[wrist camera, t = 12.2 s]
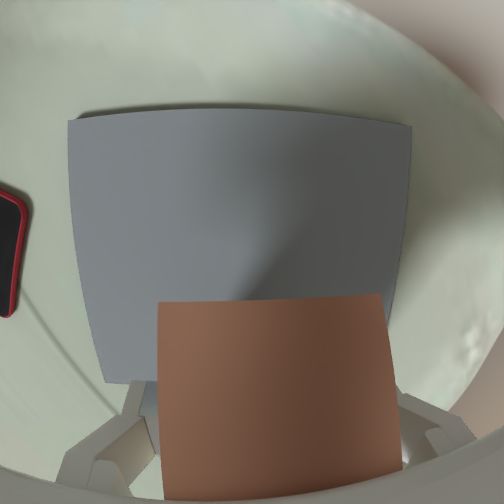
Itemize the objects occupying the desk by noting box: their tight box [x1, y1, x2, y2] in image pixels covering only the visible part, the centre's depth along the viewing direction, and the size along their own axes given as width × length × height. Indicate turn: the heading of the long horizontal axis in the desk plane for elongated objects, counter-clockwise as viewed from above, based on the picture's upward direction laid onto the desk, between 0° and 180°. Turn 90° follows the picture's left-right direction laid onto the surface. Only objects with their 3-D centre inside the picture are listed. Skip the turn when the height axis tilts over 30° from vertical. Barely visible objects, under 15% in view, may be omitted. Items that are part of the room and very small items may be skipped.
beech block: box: [157, 293, 403, 501], centre depth 10 cm, size 5×5×9 cm
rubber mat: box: [68, 108, 412, 384], centre depth 15 cm, size 16×14×1 cm
